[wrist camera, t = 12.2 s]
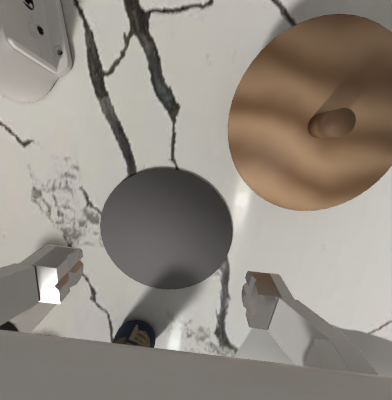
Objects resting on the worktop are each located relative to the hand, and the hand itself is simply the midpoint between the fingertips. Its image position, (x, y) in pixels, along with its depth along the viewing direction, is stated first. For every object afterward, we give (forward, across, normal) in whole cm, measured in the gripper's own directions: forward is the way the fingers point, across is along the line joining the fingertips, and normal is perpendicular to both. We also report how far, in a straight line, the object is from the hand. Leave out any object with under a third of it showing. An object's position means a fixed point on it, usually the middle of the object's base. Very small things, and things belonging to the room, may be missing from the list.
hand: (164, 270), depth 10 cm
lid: (+22, -17, -10) cm, 29 cm away
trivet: (+28, +3, +13) cm, 31 cm away
